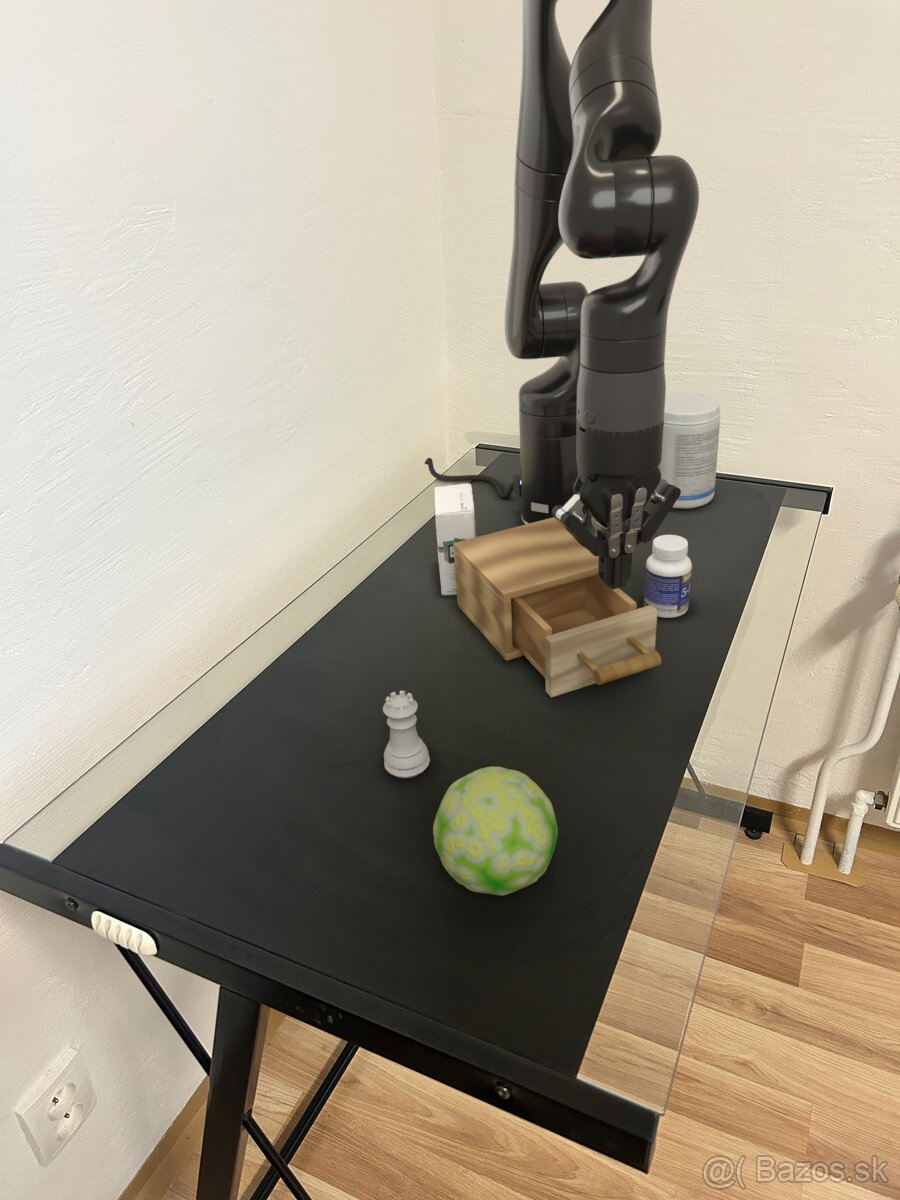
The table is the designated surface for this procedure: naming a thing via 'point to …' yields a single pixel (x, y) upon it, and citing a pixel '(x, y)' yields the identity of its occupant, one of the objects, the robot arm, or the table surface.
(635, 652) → the drawer
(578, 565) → the cabinet
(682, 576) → the pill bottle
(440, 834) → the decorative ball
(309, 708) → the table surface
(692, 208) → the robot arm
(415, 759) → the rook chess piece
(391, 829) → the table surface
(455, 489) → the ink box
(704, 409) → the supplement tub
